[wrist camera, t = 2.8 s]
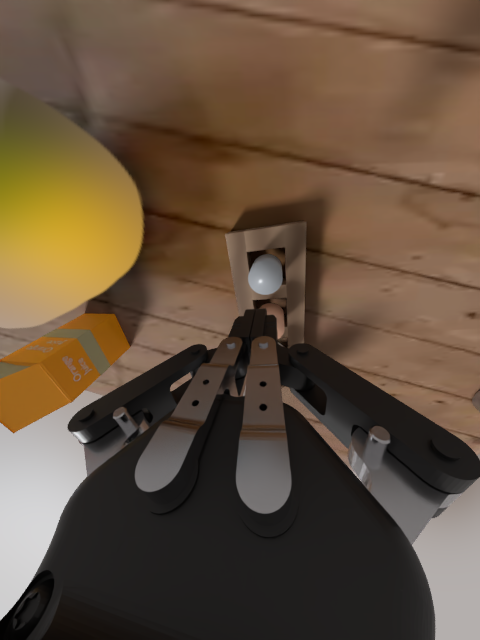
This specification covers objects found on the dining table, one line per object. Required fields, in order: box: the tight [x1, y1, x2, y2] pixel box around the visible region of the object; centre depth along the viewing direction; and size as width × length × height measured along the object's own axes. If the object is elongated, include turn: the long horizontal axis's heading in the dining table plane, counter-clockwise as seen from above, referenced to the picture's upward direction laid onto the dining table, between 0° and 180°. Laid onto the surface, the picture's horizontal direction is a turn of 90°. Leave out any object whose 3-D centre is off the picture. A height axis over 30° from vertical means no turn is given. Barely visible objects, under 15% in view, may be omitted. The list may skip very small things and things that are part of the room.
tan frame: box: [225, 221, 307, 348], centre depth 30 cm, size 10×24×3 cm, turn 9°
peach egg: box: [259, 303, 285, 339], centre depth 27 cm, size 4×4×4 cm
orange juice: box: [0, 313, 130, 433], centre depth 33 cm, size 8×9×20 cm
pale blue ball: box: [248, 254, 283, 295], centre depth 24 cm, size 4×4×4 cm
